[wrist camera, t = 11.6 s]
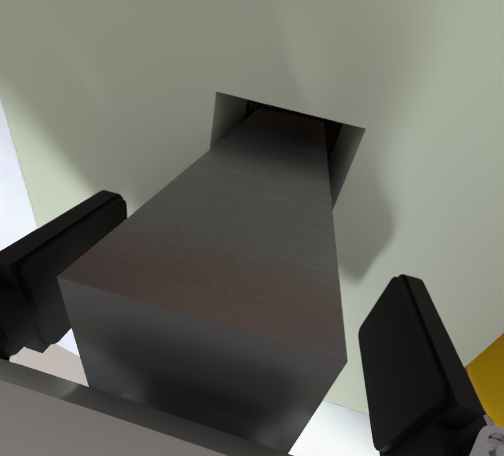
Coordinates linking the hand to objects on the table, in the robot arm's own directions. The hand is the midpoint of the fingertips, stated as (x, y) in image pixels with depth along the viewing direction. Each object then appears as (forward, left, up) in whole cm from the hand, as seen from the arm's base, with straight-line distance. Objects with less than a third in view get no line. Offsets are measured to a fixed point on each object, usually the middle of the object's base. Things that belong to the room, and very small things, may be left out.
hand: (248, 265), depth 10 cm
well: (0, 0, -6) cm, 6 cm away
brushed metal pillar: (0, 0, -6) cm, 6 cm away
